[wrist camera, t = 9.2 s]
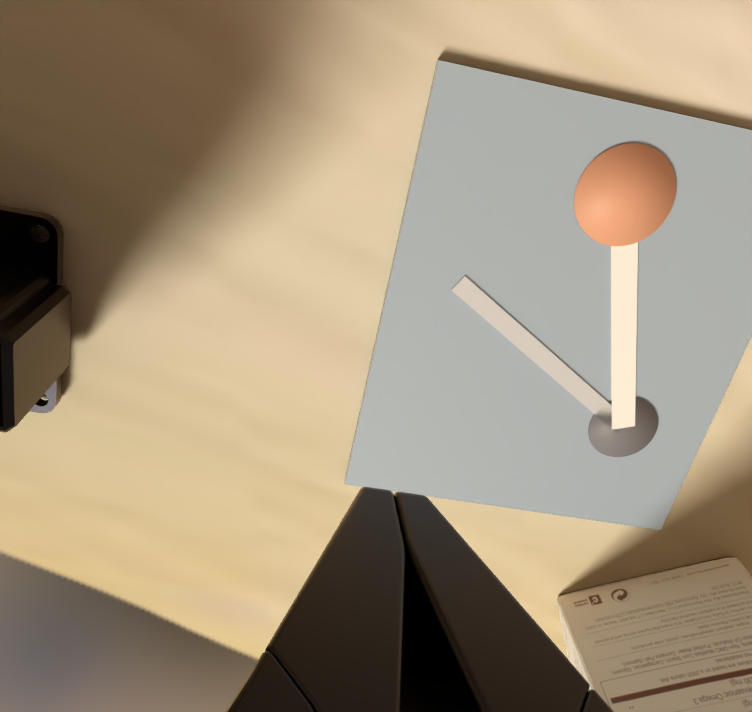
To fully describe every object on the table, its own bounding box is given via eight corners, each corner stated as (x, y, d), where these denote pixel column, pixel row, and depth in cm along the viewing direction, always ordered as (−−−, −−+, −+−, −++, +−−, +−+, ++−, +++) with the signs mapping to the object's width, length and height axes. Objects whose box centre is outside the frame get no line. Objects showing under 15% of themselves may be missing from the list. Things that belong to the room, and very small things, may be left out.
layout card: (344, 479, 24) (344, 485, 24) (437, 59, 18) (439, 60, 18) (657, 524, 25) (661, 531, 25) (832, 148, 20) (841, 150, 19)
